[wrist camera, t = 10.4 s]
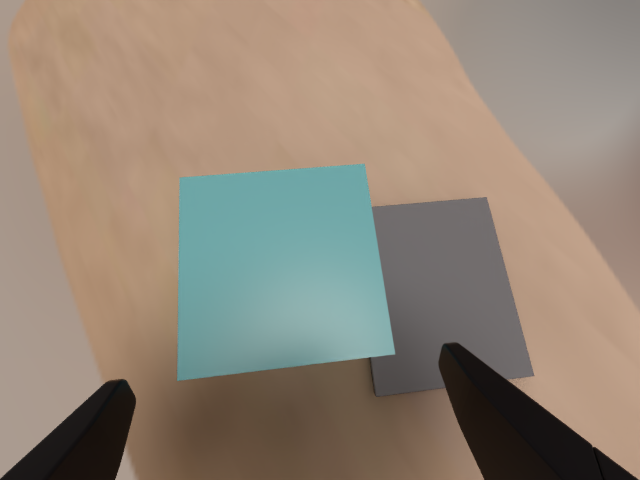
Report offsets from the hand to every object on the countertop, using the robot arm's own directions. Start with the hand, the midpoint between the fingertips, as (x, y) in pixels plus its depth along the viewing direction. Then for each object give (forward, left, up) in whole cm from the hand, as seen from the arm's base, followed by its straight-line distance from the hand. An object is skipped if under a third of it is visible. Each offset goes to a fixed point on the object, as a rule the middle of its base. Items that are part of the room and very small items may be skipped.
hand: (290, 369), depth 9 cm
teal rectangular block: (+4, 0, -11) cm, 11 cm away
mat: (+2, -9, -11) cm, 14 cm away
